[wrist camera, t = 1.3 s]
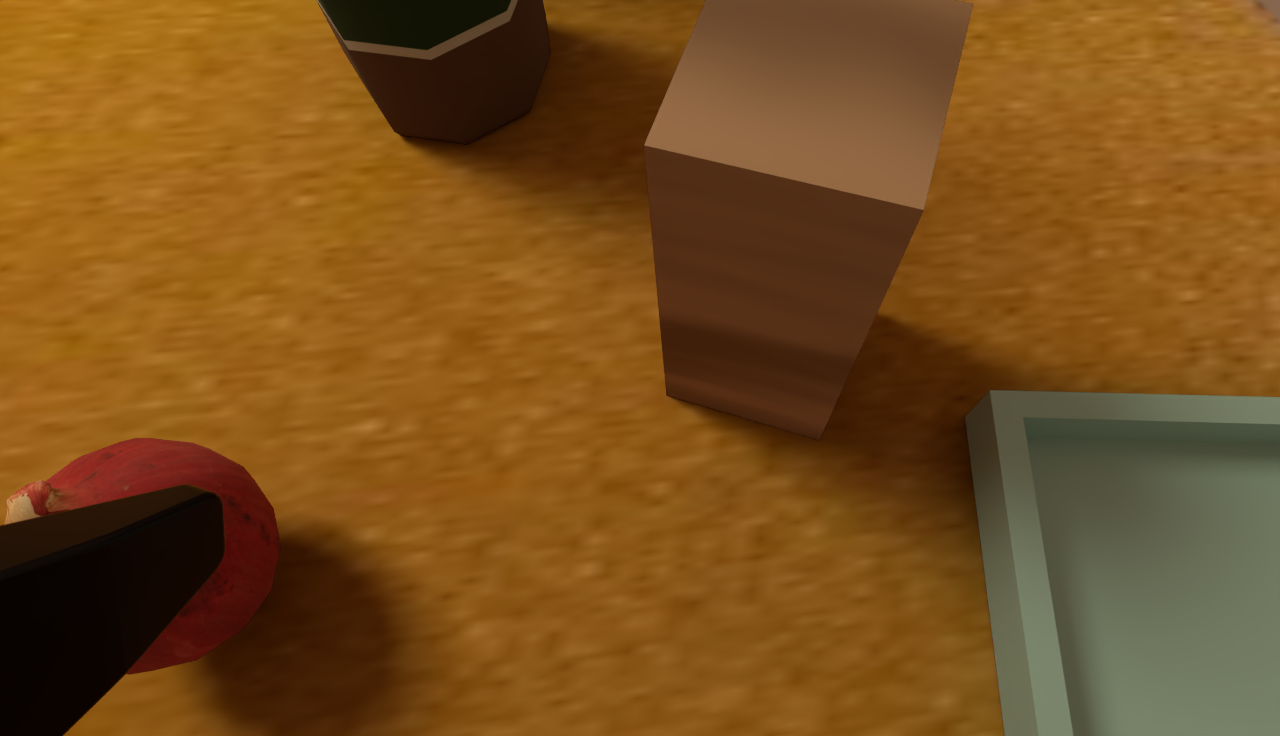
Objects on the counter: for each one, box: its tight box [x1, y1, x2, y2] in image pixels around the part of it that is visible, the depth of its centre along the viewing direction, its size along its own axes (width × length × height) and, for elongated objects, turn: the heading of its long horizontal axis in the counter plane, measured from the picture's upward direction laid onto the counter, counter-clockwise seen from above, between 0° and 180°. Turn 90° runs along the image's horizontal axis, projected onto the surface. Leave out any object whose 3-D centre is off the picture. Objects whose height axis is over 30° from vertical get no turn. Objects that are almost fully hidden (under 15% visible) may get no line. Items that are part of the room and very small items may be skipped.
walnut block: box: [644, 0, 973, 440], centre depth 20 cm, size 5×5×12 cm
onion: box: [4, 438, 281, 674], centre depth 20 cm, size 6×6×8 cm
